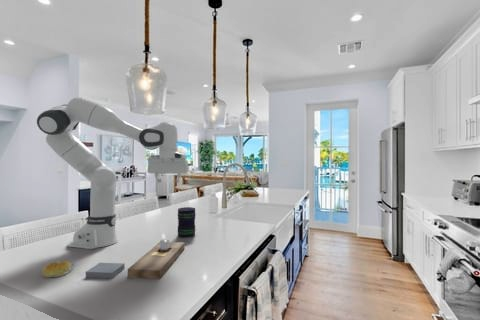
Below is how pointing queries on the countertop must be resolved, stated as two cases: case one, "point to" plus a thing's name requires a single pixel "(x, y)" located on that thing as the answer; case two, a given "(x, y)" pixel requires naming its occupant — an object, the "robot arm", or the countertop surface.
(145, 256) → the walnut rail
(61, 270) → the bread roll
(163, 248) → the metal peg
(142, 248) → the countertop surface
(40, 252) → the countertop surface
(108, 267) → the plate
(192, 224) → the storage jar
